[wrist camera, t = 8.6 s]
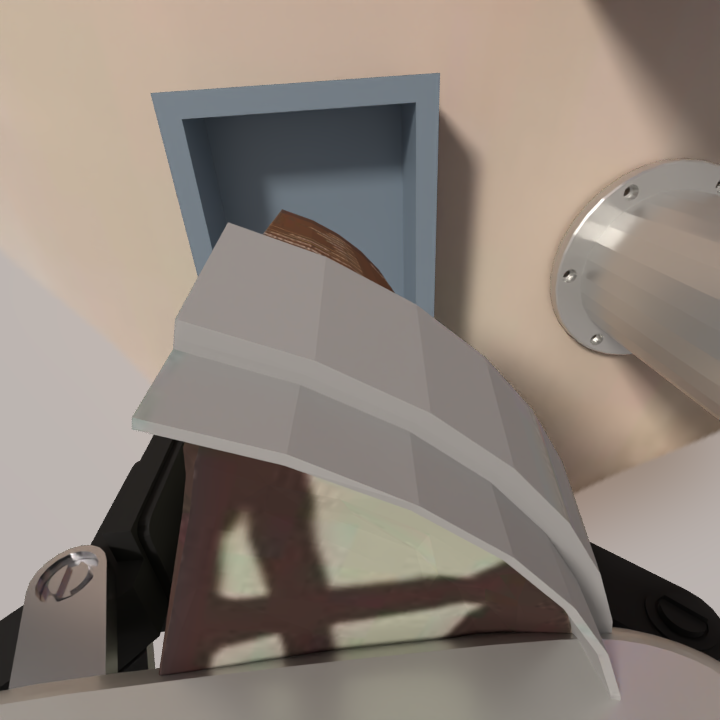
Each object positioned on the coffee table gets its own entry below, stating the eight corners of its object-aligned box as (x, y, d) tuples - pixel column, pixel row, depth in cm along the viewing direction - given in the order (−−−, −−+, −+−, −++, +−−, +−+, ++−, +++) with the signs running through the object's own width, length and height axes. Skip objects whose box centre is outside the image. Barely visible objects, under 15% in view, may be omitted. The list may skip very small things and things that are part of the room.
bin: (417, 80, 23) (440, 72, 18) (416, 374, 31) (431, 416, 27) (184, 97, 22) (150, 93, 18) (250, 390, 31) (238, 435, 27)
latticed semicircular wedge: (380, 520, 18) (428, 921, 9) (224, 497, 16) (107, 933, 8) (518, 218, 12) (1038, 522, 3) (293, 147, 11) (134, 326, 2)
